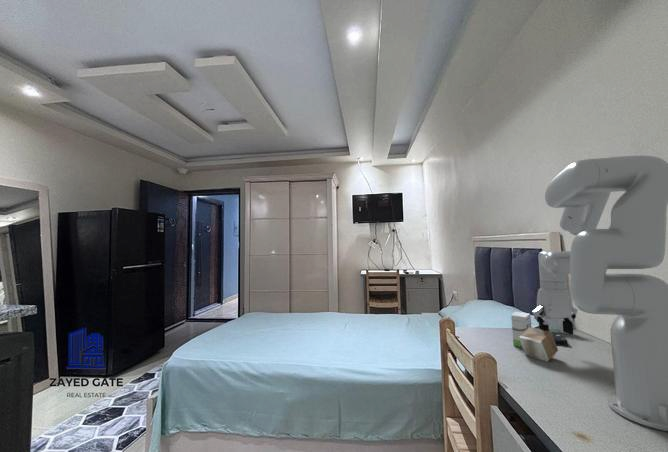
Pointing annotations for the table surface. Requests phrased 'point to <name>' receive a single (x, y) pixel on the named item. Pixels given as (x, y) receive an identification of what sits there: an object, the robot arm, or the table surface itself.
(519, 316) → the ink box
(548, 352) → the block
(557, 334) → the disk drive
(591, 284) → the robot arm
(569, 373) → the table surface
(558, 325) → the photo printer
